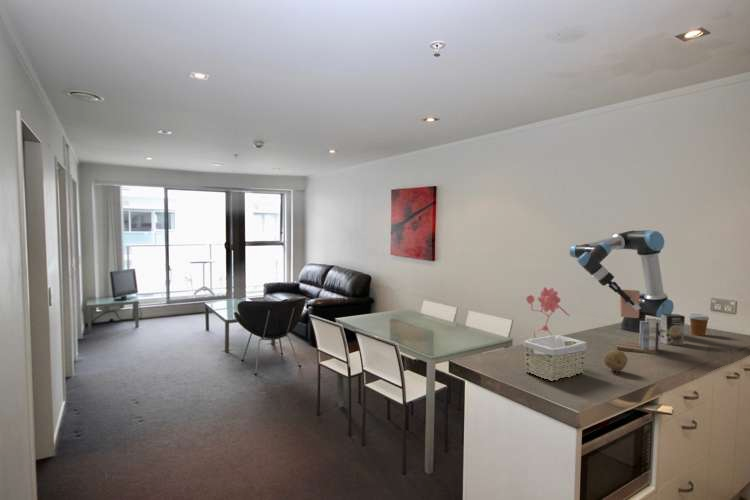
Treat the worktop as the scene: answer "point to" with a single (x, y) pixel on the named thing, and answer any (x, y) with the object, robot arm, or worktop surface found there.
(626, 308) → the terracotta book
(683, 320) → the coffee box
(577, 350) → the storage basket
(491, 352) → the worktop surface
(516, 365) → the worktop surface
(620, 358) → the natural sponge
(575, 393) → the worktop surface
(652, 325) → the book rack
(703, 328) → the disposable coffee cup
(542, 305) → the figurine
